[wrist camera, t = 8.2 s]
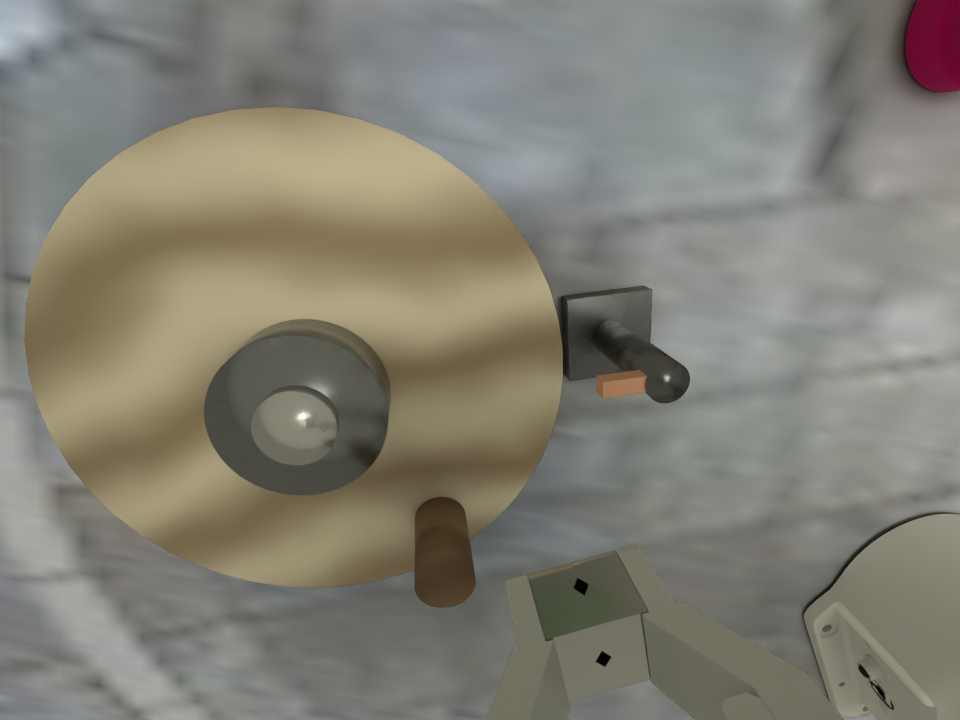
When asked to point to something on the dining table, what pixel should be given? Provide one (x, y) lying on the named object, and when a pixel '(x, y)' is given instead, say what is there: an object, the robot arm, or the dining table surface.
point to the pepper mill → (934, 44)
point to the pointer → (618, 345)
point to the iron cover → (300, 408)
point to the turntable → (289, 296)
